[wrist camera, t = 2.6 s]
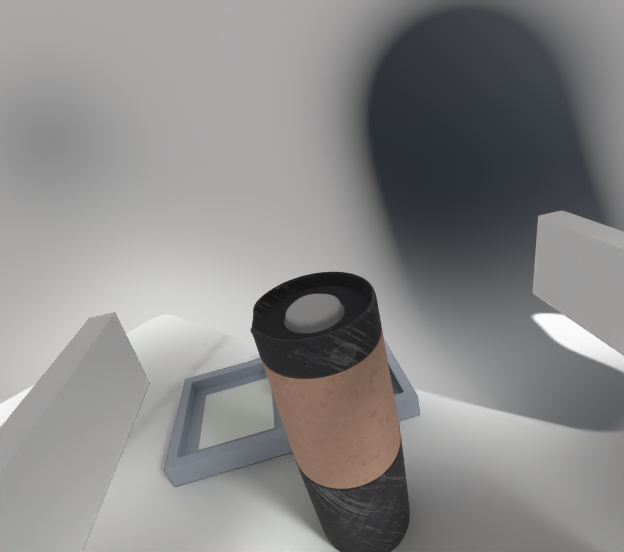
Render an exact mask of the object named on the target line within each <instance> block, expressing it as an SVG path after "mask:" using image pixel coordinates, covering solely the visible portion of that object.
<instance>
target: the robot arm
mask: <svg viewBox="0 0 624 552" xmlns="http://www.w3.org/2000/svg"><path fill="white" fill-rule="evenodd" d="M533 283H534V284H533V294H534V295H536V296H537V297H539V298H540V299H542V300H543V301H544V302H546V303H547V304H549V305H550V306H552V307H553V308H555V309H556V310H558V311H559V312H561V313H562V314H563V315H565V316H566V317H568V318H569V319H571V320H572V321H574V322H575V323H577V324H578V325H580V326H581V327H582V328H584V329H585V330H587V331H588V332H590V333H591V334H593V335H594V336H596V337H597V338H599V339H600V340H601V341H603V342H604V343H606V344H607V345H609V346H610V347H612V348H613V349H615V350H616V351H618V352H619V353H620V354H622V355H623V356H624V232H623V231H620V230H617V229H614V228H612V227H608V226H606V225H603V224H600V223H596V222H594V221H591V220H588V219H585V218H582V217H579V216H576V215H574V214H571V213H568V212H565V211H558V212H553V213H549V214H545V215H540V216H538V227H537V241H536V255H535V268H534V282H533ZM149 384H150V383H149V381H148V379H147V377H146V375H145V373H144V371H143V369H142V366H141V364H140V362H139V360H138V358H137V356H136V354H135V352H134V350H133V348H132V346H131V344H130V342H129V340H128V338H127V336H126V334H125V331H124V330H123V327H122V325H121V323H120V321H119V319H118V317H117V315H116V313H115V312H114V313H110V314H105V315H101V316H96V317H92V318H89V319H88V320H87V322H86V323H85V324H84V325H83V327H82V328H81V329H80V330H79V331H78V333H77V334H76V335H75V336H74V338H73V339H72V340H71V341H70V343H69V344H68V345H67V346H66V348H65V349H64V350H63V351H62V353H61V354H60V355H59V356H58V357H57V359H56V360H55V361H54V362H53V364H52V365H51V366H50V367H49V369H48V370H47V371H46V372H45V374H44V375H43V376H42V377H41V378H40V380H39V381H38V382H37V383H36V385H35V386H34V387H33V388H32V389H31V391H30V392H29V393H28V394H27V396H26V397H25V398H24V399H23V401H22V402H21V403H20V404H19V406H18V407H17V408H16V409H15V410H14V412H13V413H12V414H11V415H10V417H9V418H8V419H7V420H6V422H5V423H4V424H3V425H2V426H1V428H0V552H82V551H83V549H84V546H85V544H86V541H87V539H88V536H89V534H90V531H91V529H92V526H93V524H94V521H95V519H96V516H97V514H98V511H99V509H100V506H101V504H102V501H103V499H104V496H105V494H106V491H107V489H108V486H109V484H110V481H111V479H112V476H113V474H114V471H115V469H116V466H117V464H118V462H119V459H120V457H121V454H122V452H123V449H124V447H125V444H126V442H127V439H128V437H129V434H130V432H131V429H132V427H133V424H134V422H135V419H136V417H137V414H138V412H139V409H140V407H141V404H142V402H143V399H144V397H145V394H146V392H147V389H148V387H149Z"/></svg>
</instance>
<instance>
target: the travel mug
mask: <svg viewBox="0 0 624 552" xmlns="http://www.w3.org/2000/svg"><path fill="white" fill-rule="evenodd" d="M251 333H252V334H253V337H254V340H255V343H256V345H257V348H258V351H259V354H260V357H261V360H262V363H263V366H264V369H265V372H266V375H267V378H268V381H269V384H270V387H271V390H272V393H273V396H274V399H275V402H276V405H277V408H278V410H279V413H280V416H281V419H282V422H283V425H284V428H285V431H286V434H287V437H288V440H289V443H290V446H291V449H292V452H293V455H294V458H295V460H296V463H297V466H298V468H299V471H300V473H301V476H302V478H303V480H304V483H305V485H306V488H307V490H308V493H309V495H310V498H311V500H312V503H313V505H314V508H315V510H316V513H317V515H318V518H319V520H320V522H321V525H322V527H323V529H324V531H325V534H326V536H327V537H328V539H329V540H330V542H331V543H332V544H333V545H334V546H335V547H336V548H337V549H338V550H339V551H341V552H391V551H392V550H393V549H394V548H395V547H396V546H397V545H398V544H399V543H400V542H401V540H402V539H403V537H404V535H405V533H406V530H407V527H408V523H409V502H408V492H407V484H406V475H405V467H404V459H403V450H402V442H401V434H400V427H399V422H398V416H397V410H396V405H395V399H394V394H393V388H392V382H391V377H390V371H389V366H388V360H387V354H386V349H385V343H384V338H383V332H382V327H381V321H380V315H379V310H378V304H377V298H376V294H375V291H374V289H373V287H372V286H371V284H370V283H369V282H368V281H367V280H365V279H364V278H362V277H360V276H357V275H354V274H350V273H344V272H321V273H314V274H310V275H305V276H301V277H298V278H295V279H292V280H289V281H287V282H285V283H282V284H280V285H279V286H277V287H275V288H273V289H272V290H270V291H269V292H267V293H266V294H264V295H263V296H262V297H261V298H260V299H259V300H258V301H257V302H256V304H255V305H254V309H253V322H252V328H251Z"/></svg>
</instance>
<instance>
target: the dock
mask: <svg viewBox="0 0 624 552" xmlns="http://www.w3.org/2000/svg"><path fill="white" fill-rule="evenodd" d="M384 343H385V349H386V354H387V360H388V366H389V371H390V377H391V382H392V388H393V394H394V399H395V405H396V410H397V416H398V421H401V420H404V419H408V418H411V417H414V416H418V415H420V409H419V401H418V396H417V394H416V392H415V391H414V389H413V387H412V386H411V384H410V382H409V380H408V379H407V377H406V375H405V374H404V372H403V370H402V369H401V367H400V365H399V364H398V362H397V360H396V359H395V357H394V355H393V353H392V352H391V350H390V348H389V347H388V345H387V343H386V341H385V340H384ZM288 453H292V449H291V446H290V443H289V440H288V437H287V434H286V431H285V428H284V425H283V422H282V419H281V416H280V413H279V410H278V408H277V405H276V402H275V399H274V396H273V393H272V390H271V387H270V384H269V381H268V378H267V375H266V372H265V369H264V366H263V363H262V360H261V358H260V359H256V360H253V361H249V362H246V363H242V364H239V365H235V366H231V367H228V368H224V369H221V370H217V371H214V372H210V373H206V374H203V375H199V376H196V377H192V378H189V379H185V382H184V386H183V391H182V395H181V399H180V404H179V408H178V412H177V417H176V421H175V426H174V430H173V434H172V439H171V443H170V447H169V452H168V456H167V460H166V465H165V469H164V471H165V472H166V474H167V476H168V477H169V479H170V481H171V482H172V484H173V486H174V487H176V486H180V485H183V484H186V483H190V482H193V481H197V480H200V479H203V478H207V477H210V476H214V475H217V474H220V473H224V472H227V471H231V470H234V469H237V468H241V467H244V466H248V465H251V464H254V463H258V462H261V461H265V460H268V459H271V458H275V457H278V456H282V455H285V454H288Z"/></svg>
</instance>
